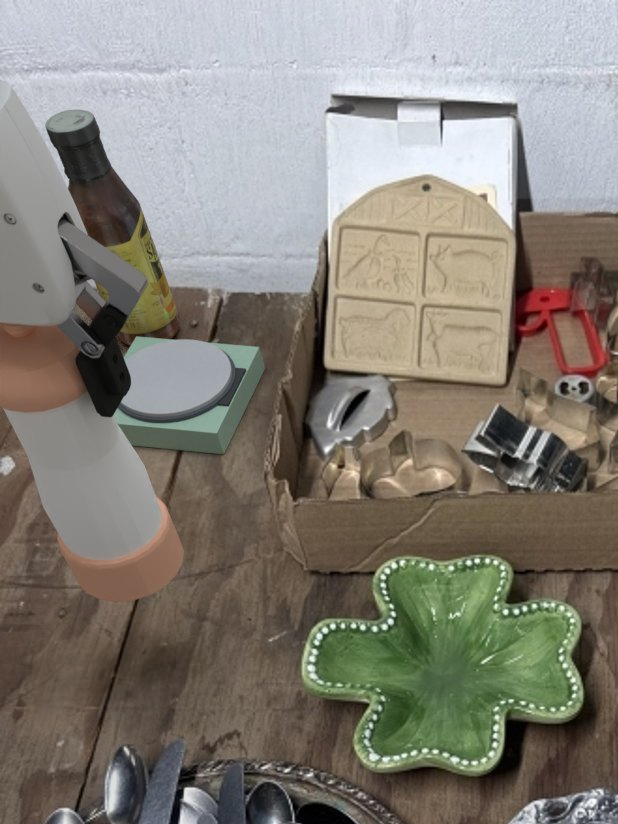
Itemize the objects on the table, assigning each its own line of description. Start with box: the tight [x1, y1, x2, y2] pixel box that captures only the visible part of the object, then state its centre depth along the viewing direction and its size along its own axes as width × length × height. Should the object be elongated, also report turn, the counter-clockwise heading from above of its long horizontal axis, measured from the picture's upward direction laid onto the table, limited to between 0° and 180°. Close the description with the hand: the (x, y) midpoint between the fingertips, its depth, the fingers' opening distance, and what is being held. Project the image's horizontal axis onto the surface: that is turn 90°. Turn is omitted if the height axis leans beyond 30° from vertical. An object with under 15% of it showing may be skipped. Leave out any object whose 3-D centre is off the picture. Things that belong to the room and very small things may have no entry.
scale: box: [114, 336, 266, 455], centre depth 96 cm, size 12×12×3 cm
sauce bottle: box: [45, 109, 180, 347], centre depth 96 cm, size 7×6×20 cm
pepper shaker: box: [0, 323, 185, 603], centre depth 65 cm, size 7×7×19 cm
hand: (50, 392), depth 61 cm, fingers closed on pepper shaker, 7 cm apart
